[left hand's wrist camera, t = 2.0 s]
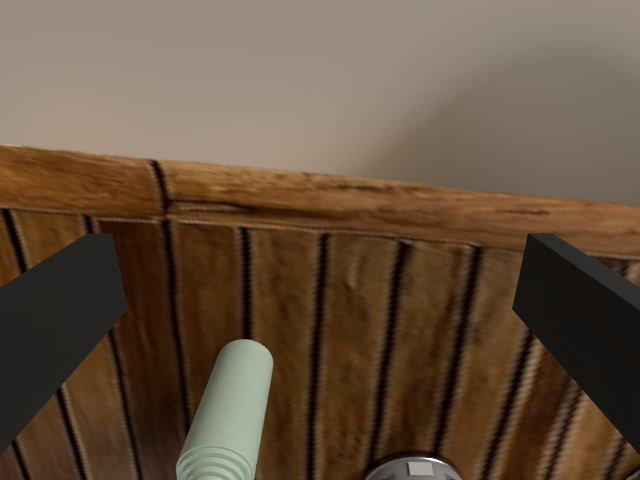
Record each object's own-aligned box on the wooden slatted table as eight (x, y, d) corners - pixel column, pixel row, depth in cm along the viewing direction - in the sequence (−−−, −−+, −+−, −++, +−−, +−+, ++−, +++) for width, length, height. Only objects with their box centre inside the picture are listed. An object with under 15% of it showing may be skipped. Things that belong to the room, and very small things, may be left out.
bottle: (218, 336, 47) (149, 502, 28) (275, 341, 47) (245, 509, 28) (217, 381, 49) (154, 560, 31) (271, 386, 50) (241, 567, 31)
